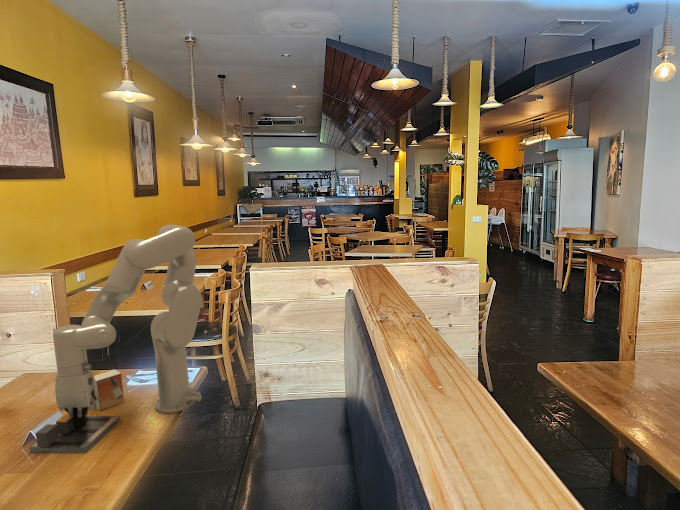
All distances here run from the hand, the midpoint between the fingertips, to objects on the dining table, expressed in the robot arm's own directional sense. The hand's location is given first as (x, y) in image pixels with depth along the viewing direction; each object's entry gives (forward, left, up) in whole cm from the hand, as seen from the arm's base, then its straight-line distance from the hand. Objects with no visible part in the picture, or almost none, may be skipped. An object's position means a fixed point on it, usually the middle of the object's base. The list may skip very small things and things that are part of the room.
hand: (80, 427), depth 128 cm
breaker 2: (+5, -7, -1) cm, 8 cm away
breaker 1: (+5, +6, -1) cm, 8 cm away
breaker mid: (+4, 0, -1) cm, 4 cm away
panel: (+1, 0, -3) cm, 3 cm away
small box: (+3, -19, -3) cm, 20 cm away
